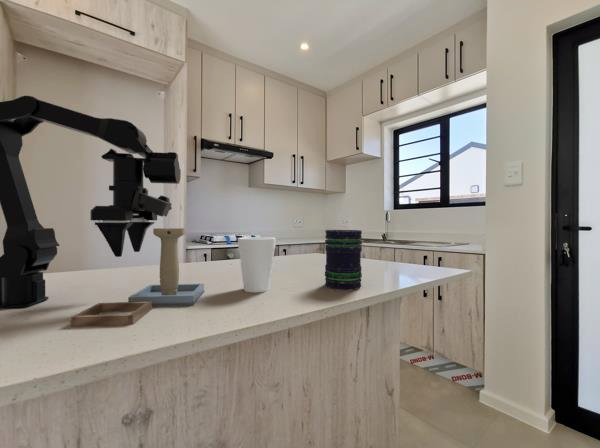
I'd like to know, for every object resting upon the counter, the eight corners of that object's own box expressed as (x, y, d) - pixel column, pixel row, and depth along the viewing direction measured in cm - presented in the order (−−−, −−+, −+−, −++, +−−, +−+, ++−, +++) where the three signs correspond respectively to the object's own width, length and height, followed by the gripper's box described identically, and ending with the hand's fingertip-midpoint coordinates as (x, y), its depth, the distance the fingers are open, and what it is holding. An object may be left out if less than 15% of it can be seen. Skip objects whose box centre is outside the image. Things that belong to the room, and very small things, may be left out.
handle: (154, 294, 68) (154, 228, 68) (184, 292, 70) (184, 228, 70) (152, 300, 63) (152, 228, 63) (185, 297, 66) (185, 228, 66)
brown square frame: (71, 326, 49) (71, 317, 49) (99, 310, 58) (99, 302, 58) (133, 324, 51) (133, 315, 51) (151, 309, 59) (151, 301, 59)
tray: (128, 307, 60) (128, 297, 60) (149, 293, 72) (149, 284, 72) (193, 305, 62) (193, 295, 62) (204, 291, 73) (204, 283, 73)
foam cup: (278, 286, 80) (278, 237, 80) (271, 294, 71) (272, 239, 71) (243, 285, 81) (244, 236, 81) (232, 293, 72) (232, 239, 72)
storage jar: (367, 289, 77) (368, 231, 77) (331, 290, 75) (331, 231, 75) (353, 281, 87) (353, 229, 87) (320, 282, 85) (320, 229, 85)
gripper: (152, 177, 57) (151, 259, 57) (178, 187, 76) (178, 249, 76) (88, 175, 56) (88, 259, 56) (131, 186, 74) (131, 249, 74)
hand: (128, 254), depth 66 cm, fingers open, 9 cm apart
